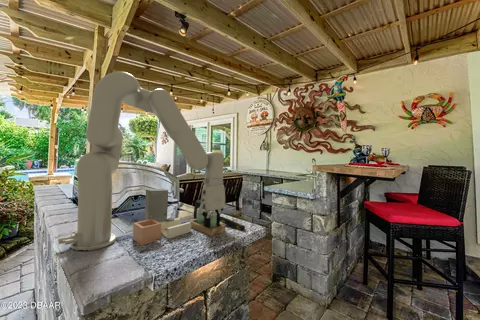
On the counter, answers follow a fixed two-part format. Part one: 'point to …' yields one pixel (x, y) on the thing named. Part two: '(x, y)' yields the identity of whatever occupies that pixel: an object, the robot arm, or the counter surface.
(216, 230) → the trough
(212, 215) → the cylinder
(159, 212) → the skincare box
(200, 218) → the cylinder
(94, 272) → the counter surface
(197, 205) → the mallet
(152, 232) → the orange open box
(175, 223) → the cradle
